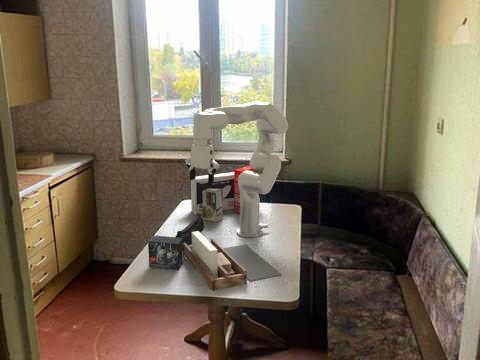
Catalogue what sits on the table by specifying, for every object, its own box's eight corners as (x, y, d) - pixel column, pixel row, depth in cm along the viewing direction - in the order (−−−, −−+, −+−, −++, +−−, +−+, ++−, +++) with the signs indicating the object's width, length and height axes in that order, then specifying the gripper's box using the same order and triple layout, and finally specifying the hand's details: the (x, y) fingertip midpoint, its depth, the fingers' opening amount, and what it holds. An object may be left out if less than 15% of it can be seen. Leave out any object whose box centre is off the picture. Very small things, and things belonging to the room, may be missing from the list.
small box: (148, 268, 197) (147, 241, 194) (154, 261, 203) (152, 235, 200) (179, 270, 195) (178, 243, 192) (183, 263, 201) (183, 237, 198)
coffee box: (223, 219, 256) (223, 190, 252) (216, 222, 251) (216, 193, 247) (209, 215, 261) (209, 187, 257) (202, 219, 256) (202, 190, 252)
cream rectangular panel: (198, 259, 206) (198, 231, 202) (217, 280, 186) (217, 249, 183) (192, 260, 205) (191, 232, 201) (210, 282, 185) (210, 251, 182)
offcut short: (221, 257, 201) (221, 252, 201) (231, 269, 191) (231, 263, 190) (211, 259, 200) (211, 253, 199) (220, 270, 189) (220, 265, 188)
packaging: (195, 214, 263) (194, 179, 258) (191, 211, 269) (190, 177, 264) (244, 206, 277) (244, 173, 272) (239, 204, 282) (239, 171, 277)
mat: (245, 245, 221) (245, 244, 221) (281, 275, 191) (281, 274, 191) (217, 249, 216) (217, 249, 215) (250, 281, 186) (250, 280, 185)
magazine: (178, 238, 204) (201, 200, 229) (171, 238, 205) (195, 200, 230) (183, 269, 213) (205, 229, 238) (176, 268, 214) (199, 228, 238)
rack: (213, 249, 216) (212, 238, 214) (246, 283, 184) (246, 270, 182) (183, 254, 210) (183, 243, 209) (212, 290, 178) (212, 277, 177)
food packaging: (241, 215, 262) (241, 171, 256) (234, 213, 265) (234, 169, 259) (257, 209, 273) (258, 166, 267) (250, 207, 276) (250, 165, 270)
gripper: (224, 143, 201) (223, 182, 205) (191, 139, 210) (191, 176, 213) (213, 145, 195) (213, 185, 198) (180, 140, 203) (180, 179, 207)
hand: (201, 181), depth 206 cm, fingers open, 9 cm apart
